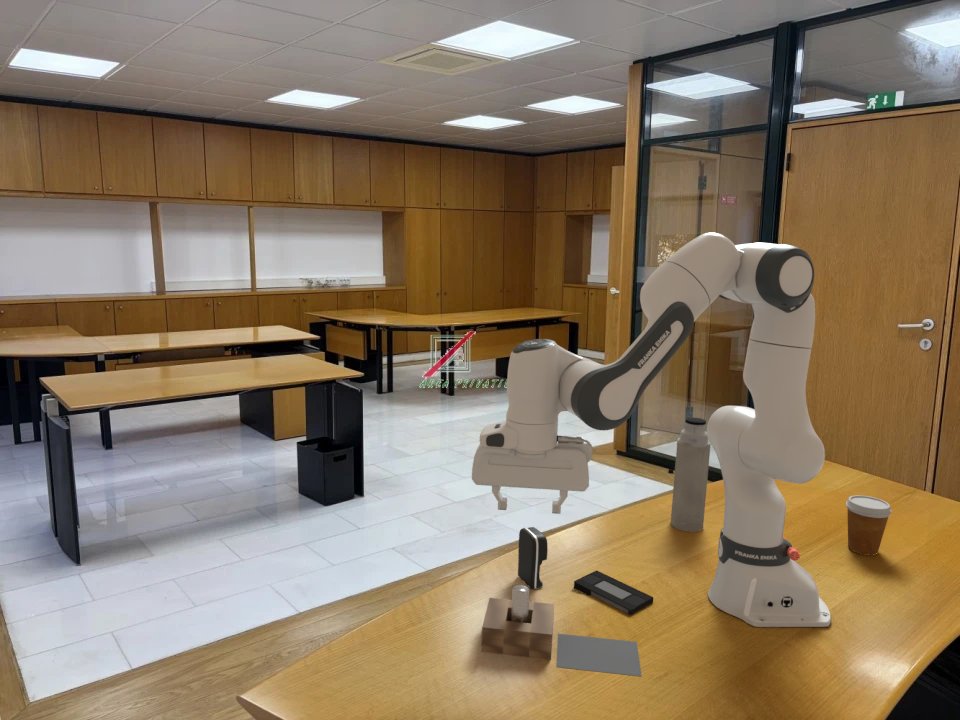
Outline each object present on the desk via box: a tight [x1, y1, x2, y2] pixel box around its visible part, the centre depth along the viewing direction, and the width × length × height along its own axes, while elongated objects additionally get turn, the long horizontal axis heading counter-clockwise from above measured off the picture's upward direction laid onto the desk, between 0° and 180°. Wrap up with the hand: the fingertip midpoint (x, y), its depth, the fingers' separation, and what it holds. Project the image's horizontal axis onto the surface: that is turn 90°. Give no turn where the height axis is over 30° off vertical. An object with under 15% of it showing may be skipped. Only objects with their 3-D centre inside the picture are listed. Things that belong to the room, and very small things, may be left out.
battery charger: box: [517, 526, 549, 590], centre depth 144 cm, size 7×4×11 cm, turn 23°
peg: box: [511, 584, 530, 623], centre depth 122 cm, size 3×3×10 cm
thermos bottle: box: [670, 416, 712, 533], centre depth 173 cm, size 8×8×28 cm
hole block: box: [481, 597, 555, 660], centre depth 123 cm, size 12×10×5 cm
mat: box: [556, 633, 643, 677], centre depth 120 cm, size 14×10×1 cm
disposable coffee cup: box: [845, 494, 892, 556], centre depth 164 cm, size 10×10×12 cm
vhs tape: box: [573, 570, 654, 616], centre depth 140 cm, size 8×14×2 cm, turn 42°
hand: (529, 510), depth 120 cm, fingers open, 8 cm apart
